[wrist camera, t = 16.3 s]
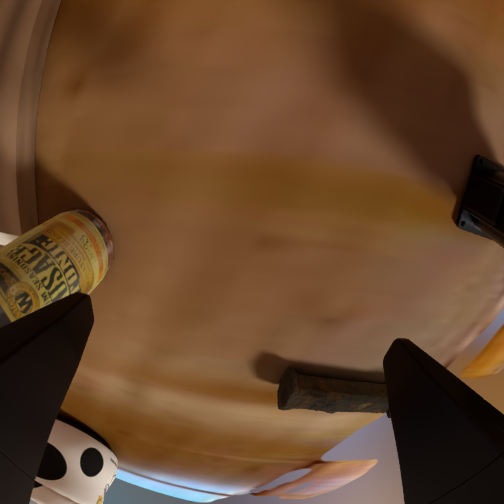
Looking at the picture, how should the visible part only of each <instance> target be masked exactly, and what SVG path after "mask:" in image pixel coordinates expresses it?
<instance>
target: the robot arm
mask: <svg viewBox="0 0 504 504" xmlns="http://www.w3.org/2000/svg"><path fill="white" fill-rule="evenodd" d="M479 160H480V162H479ZM461 222H462V224H461ZM456 225H457V227H459V228H460V229H462V230H465V231H468V232H471V233H474V234H477V235H480V236H482V237H485V238H488V239H491V240H493V241H495V242H496V243H498V244H499V245H500V246H502V247H503V248H504V169H502V168H501V167H499V166H498V165H496V164H495V163H493V162H491V161H490V160H488V159H486V158H485V157H483V156H480V155H476V156H475V158H474V162H473V166H472V170H471V174H470V178H469V182H468V185H467V189H466V192H465V196H464V199H463V202H462V206H461V209H460V212H459V215H458V218H457V221H456ZM93 323H94V314H93V309H92V303H91V298H90V296H89V295H88V294H86V293H82V292H75V293H72V294H70V295H68V296H66V297H64V298H61V299H59V300H57V301H55V302H53V303H51V304H49V305H46V306H44V307H42V308H40V309H38V310H36V311H34V312H32V313H30V314H27V315H25V316H23V317H21V318H19V319H17V320H15V321H13V322H11V323H9V324H7V325H5V326H3V327H1V328H0V504H29V502H30V498H31V494H32V490H33V487H34V483H35V479H36V476H37V472H38V469H39V466H40V463H41V459H42V456H43V453H44V450H45V447H46V445H47V442H48V439H49V436H50V433H51V431H52V428H53V425H54V423H55V420H56V418H57V415H58V413H59V410H60V408H61V405H62V403H63V400H64V398H65V396H66V393H67V391H68V389H69V386H70V384H71V382H72V379H73V377H74V375H75V373H76V370H77V368H78V366H79V363H80V360H81V357H82V354H83V351H84V349H85V346H86V343H87V340H88V337H89V335H90V332H91V329H92V327H93ZM383 368H384V375H385V383H386V390H387V399H388V406H389V411H390V416H391V421H392V425H393V430H394V436H395V441H396V447H397V452H398V458H399V464H400V471H401V478H402V486H403V494H404V502H405V504H504V414H502V413H501V412H500V411H498V410H497V409H496V408H495V407H493V406H492V405H491V404H490V403H488V402H487V401H486V400H484V399H483V398H482V397H481V396H480V395H479V394H477V393H476V392H475V391H474V390H472V389H471V388H470V387H469V386H467V385H466V384H465V383H463V382H462V381H461V380H460V379H459V378H457V377H456V376H455V375H454V374H452V373H451V372H450V371H449V370H447V369H446V368H445V367H443V366H442V365H441V364H440V363H438V362H437V361H436V360H435V359H433V358H432V357H431V356H429V355H428V354H427V353H426V352H424V351H423V350H422V349H420V348H419V347H418V346H416V345H415V344H414V343H413V342H411V341H410V340H409V339H406V338H397V339H395V340H394V341H393V343H392V345H391V346H390V348H389V350H388V351H387V353H386V355H385V357H384V359H383Z"/></svg>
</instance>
